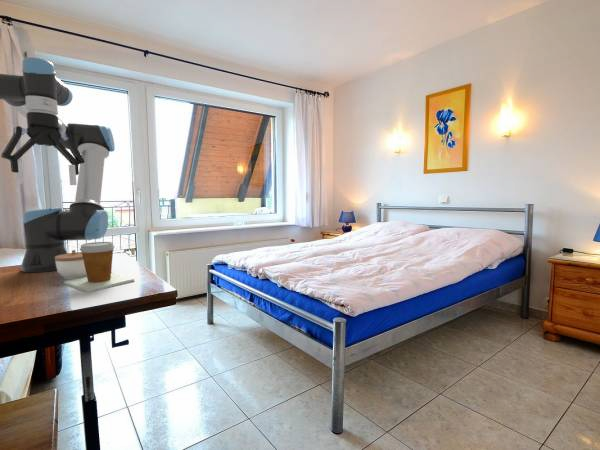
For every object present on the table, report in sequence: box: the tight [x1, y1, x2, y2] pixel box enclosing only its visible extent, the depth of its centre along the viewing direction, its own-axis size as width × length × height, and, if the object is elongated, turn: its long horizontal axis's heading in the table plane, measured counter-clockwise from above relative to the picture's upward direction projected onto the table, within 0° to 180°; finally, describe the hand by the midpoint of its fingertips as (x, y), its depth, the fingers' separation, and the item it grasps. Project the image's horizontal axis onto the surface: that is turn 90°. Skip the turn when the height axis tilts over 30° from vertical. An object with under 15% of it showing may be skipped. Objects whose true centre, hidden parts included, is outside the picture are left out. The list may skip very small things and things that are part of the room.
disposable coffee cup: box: [79, 241, 115, 283], centre depth 103 cm, size 10×10×12 cm
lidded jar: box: [55, 249, 87, 280], centre depth 111 cm, size 11×11×9 cm
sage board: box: [63, 272, 135, 293], centre depth 104 cm, size 16×14×1 cm
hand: (48, 184), depth 98 cm, fingers open, 13 cm apart
